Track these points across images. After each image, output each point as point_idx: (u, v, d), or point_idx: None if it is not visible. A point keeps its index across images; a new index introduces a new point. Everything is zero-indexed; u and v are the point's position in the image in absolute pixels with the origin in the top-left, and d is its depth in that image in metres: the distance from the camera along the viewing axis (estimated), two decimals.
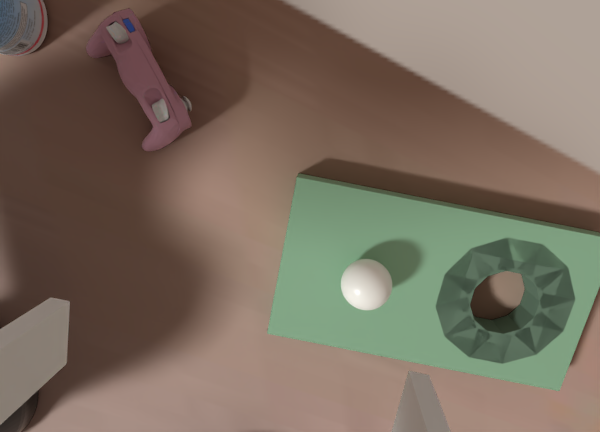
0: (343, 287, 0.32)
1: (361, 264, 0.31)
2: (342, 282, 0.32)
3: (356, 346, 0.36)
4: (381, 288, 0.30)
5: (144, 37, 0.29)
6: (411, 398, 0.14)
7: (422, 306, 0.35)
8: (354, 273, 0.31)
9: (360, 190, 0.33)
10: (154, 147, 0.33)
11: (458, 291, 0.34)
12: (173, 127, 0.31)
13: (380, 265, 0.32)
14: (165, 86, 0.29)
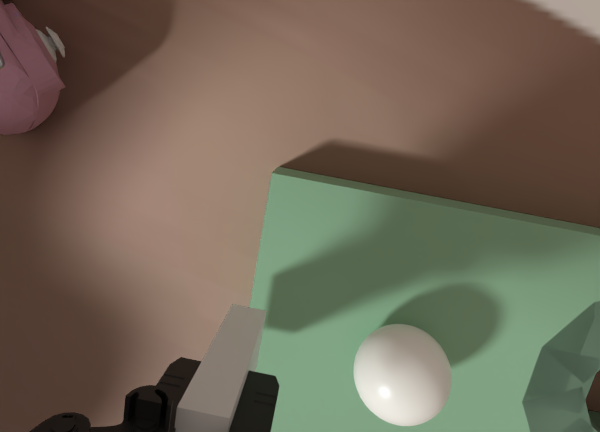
0: (358, 381, 0.17)
1: (394, 340, 0.16)
2: (356, 371, 0.17)
3: None
4: (434, 391, 0.15)
5: None
6: None
7: (498, 401, 0.19)
8: (380, 358, 0.16)
9: (389, 197, 0.18)
10: (7, 126, 0.18)
11: (565, 377, 0.19)
12: (19, 84, 0.16)
13: (429, 340, 0.17)
14: None
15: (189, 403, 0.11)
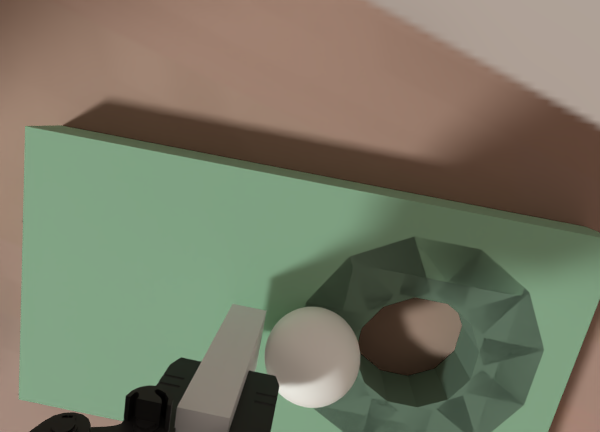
0: None
1: (331, 311, 0.18)
2: None
3: None
4: None
5: None
6: None
7: None
8: None
9: (140, 150, 0.18)
10: None
11: None
12: None
13: (302, 311, 0.17)
14: None
15: (189, 403, 0.11)
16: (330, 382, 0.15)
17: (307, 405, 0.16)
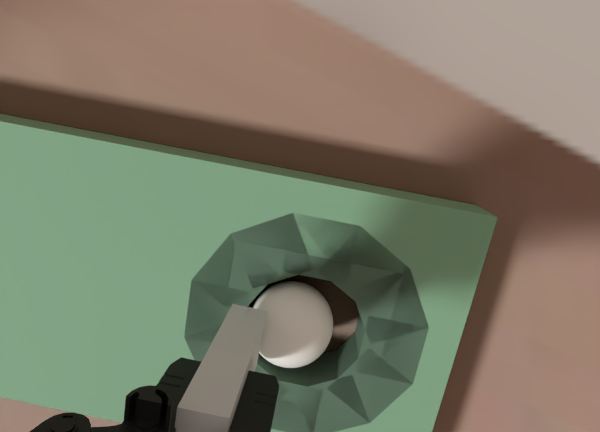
0: None
1: (276, 291, 0.19)
2: None
3: (63, 403, 0.21)
4: (299, 337, 0.18)
5: None
6: None
7: (162, 337, 0.20)
8: (261, 305, 0.18)
9: (18, 126, 0.18)
10: None
11: (219, 311, 0.19)
12: None
13: (309, 295, 0.19)
14: None
15: (189, 403, 0.11)
16: None
17: None
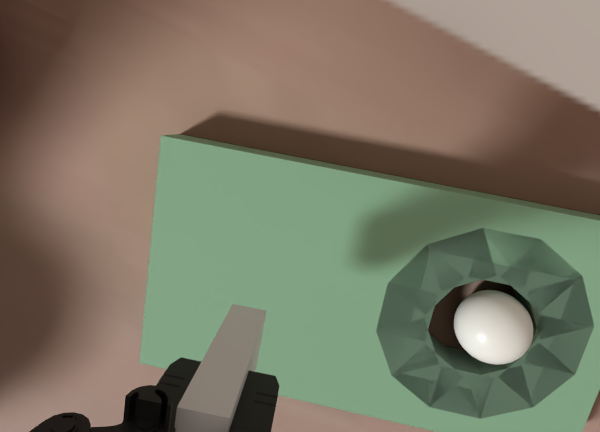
0: (474, 340, 0.22)
1: (500, 305, 0.21)
2: (471, 333, 0.22)
3: None
4: (531, 335, 0.21)
5: None
6: None
7: (356, 330, 0.23)
8: (496, 321, 0.21)
9: (254, 155, 0.22)
10: None
11: (409, 309, 0.23)
12: None
13: (516, 300, 0.22)
14: None
15: (189, 403, 0.11)
16: None
17: None
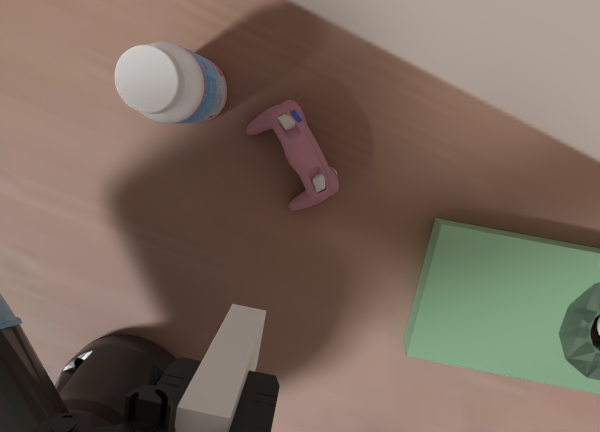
0: None
1: None
2: None
3: (485, 367, 0.41)
4: None
5: (306, 124, 0.35)
6: None
7: (546, 333, 0.40)
8: None
9: (497, 235, 0.38)
10: (302, 208, 0.39)
11: (579, 320, 0.39)
12: (326, 195, 0.37)
13: None
14: (325, 164, 0.35)
15: (189, 403, 0.11)
16: None
17: None
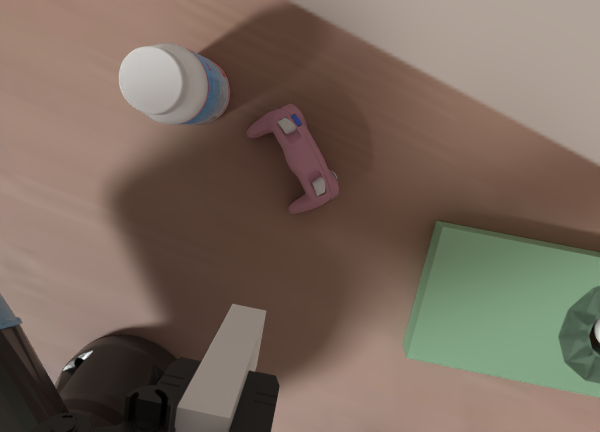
0: None
1: None
2: None
3: (484, 370, 0.41)
4: None
5: (306, 128, 0.35)
6: None
7: (546, 336, 0.40)
8: None
9: (497, 238, 0.38)
10: None
11: (579, 324, 0.39)
12: (326, 199, 0.37)
13: None
14: (325, 168, 0.35)
15: (189, 403, 0.11)
16: None
17: None
